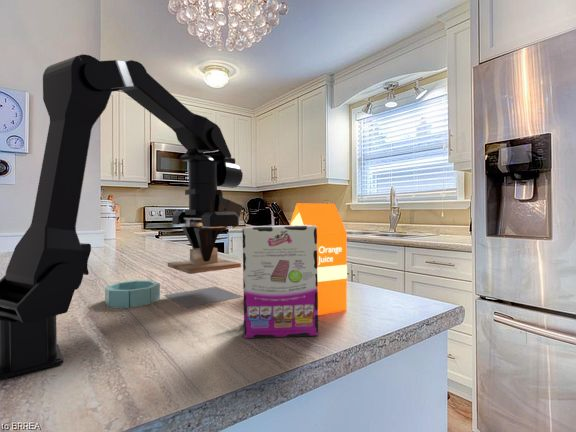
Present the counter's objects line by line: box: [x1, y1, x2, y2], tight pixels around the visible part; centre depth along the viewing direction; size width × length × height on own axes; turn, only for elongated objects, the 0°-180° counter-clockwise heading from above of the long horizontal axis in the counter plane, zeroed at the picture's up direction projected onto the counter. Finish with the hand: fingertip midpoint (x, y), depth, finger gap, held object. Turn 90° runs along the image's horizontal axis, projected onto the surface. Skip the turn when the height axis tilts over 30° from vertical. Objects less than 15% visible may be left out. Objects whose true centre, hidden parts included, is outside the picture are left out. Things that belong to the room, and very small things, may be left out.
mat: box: [163, 286, 244, 309], centre depth 68 cm, size 12×12×1 cm
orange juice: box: [289, 202, 348, 316], centre depth 63 cm, size 8×9×20 cm
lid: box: [167, 247, 242, 275], centre depth 68 cm, size 11×11×4 cm
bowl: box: [104, 279, 161, 309], centre depth 65 cm, size 9×9×4 cm
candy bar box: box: [242, 224, 319, 339], centre depth 51 cm, size 11×5×16 cm, turn 94°
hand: (203, 260), depth 68 cm, fingers closed on lid, 2 cm apart
